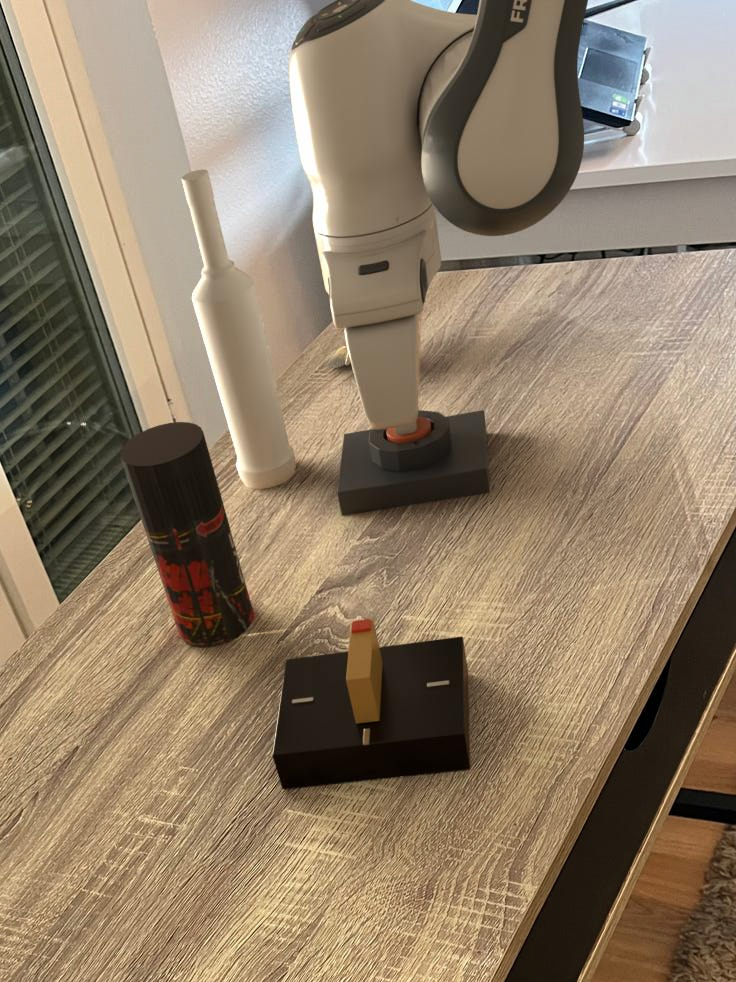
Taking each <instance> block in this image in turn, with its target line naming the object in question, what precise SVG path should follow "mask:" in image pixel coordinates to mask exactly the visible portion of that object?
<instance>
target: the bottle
mask: <svg viewBox="0 0 736 982" xmlns="http://www.w3.org/2000/svg"><path fill="white" fill-rule="evenodd" d="M181 182H182V186H183V190H184V194H185V197H186V202H187V205H188V207H189V209H190V210H189V211H190V215H191V219H192V223H193V226H194V231H195V235H196V239H197V242H198V247H199V250H200V255H201V258H202V263H203V268H201V278H200V280H199V281H198V283H197V284H196V286H195V288H194V290H193V292H192V294H191V300H192V304H193V308H194V312H195V315H196V318H197V321H198V325H199V329H200V332H201V336H202V340H203V343H204V345H205V349H206V353H207V357H208V360H209V363H210V366H211V371H212V374H213V377H214V381H215V384H216V388H217V391H218V394H219V398H220V401H221V405H222V408H223V413H224V416H225V419H226V423H227V426H228V431H229V433H230V437H231V440H232V443H233V447H234V451H235V454H236V458H237V459H236V465H235V466H236V470H237V473H238V476H239V477H240V480H241V481H242V483H243V484H244V485H245V487H247V488H249V489H252V490H266V489H270V488H275V487H277V486H280V485H283V484H284V483H286V482H288V481H289V480H290V479H292V477H293V476H294V475H295V473H296V466H297V465H296V463H297V461H296V455H295V449H294V448H293V447H292V446H291V445H290V443H289V437H288V433H287V427H286V423H285V418H284V413H283V409H282V404H281V403H282V402H281V400H280V395H279V389H278V384H277V380H276V376H275V370H274V365H273V361H272V356H271V351H270V348H269V343H268V338H267V332H266V328H265V327H266V326H265V322H264V319H263V314H262V309H261V304H260V300H259V295H258V290H257V289H258V288H257V286H256V281H255V278H254V277H253V276H252V275H250V274H249V273H247V272H245V271H243V270H241V269H239V268H238V267H236V264H235V262H234V261H233V260H231V259H230V258H229V254H228V251H227V247H226V243H225V239H224V234H223V230H222V227H221V226H222V225H221V223H220V218H219V214H218V210H217V206H216V202H215V195H214V191H213V187H212V183H211V178H210V175H209V170H207V169H197V170H194V171H189V172H187V173H186V174H184V175H182V176H181Z"/></svg>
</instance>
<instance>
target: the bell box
mask: <svg viewBox="0 0 736 982" xmlns="http://www.w3.org/2000/svg"><path fill="white" fill-rule="evenodd" d="M418 417H423V418H426V419H428V420H429V422H430V425H431V433H430V434H429V435H428V436H426V437H424V438H422V439H419V440H417V441H414V442H408V443H402V444H399V443H390V442H388V439H387V434H386V431H387V429H379V430H376V429H373V428H371V429H365V430H359V431H354V432H348V433H344V434H343V438H342V447H341V455H340V464H339V472H338V481H337V488H336V489H337V490H336V494H337V500H338V504H339V509H340V513H341V516H342V517H346V516H351V515H356V514H357V515H358V514H364V513H369V512H376V511H383V510H388V509H396V508H402V507H408V506H409V507H410V506H414V505H421V504H422V505H423V504H428V503H434V502H440V501H447V500H452V499H460V498H466V497H472V496H478V495H484V494H489V493H490V492H491V491H490V490H491V489H490V473H489V472H490V471H489V469H490V467H489V449H488V448H489V447H488V430H487V423H486V422H487V421H486V413H485V410H484V409H482V410H477V411H476V410H475V411H470V412H465V413H458V414H453V415H447V416H446V415H444V414H442V413H440V412H439V411H432V410H422V409H419V410H418Z"/></svg>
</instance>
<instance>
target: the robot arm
mask: <svg viewBox="0 0 736 982" xmlns="http://www.w3.org/2000/svg"><path fill="white" fill-rule="evenodd" d="M588 3H589V0H479V2H478V7H477V11H476V12H477V13H476V14H470V13H460V12H459V13H458V12H452V11H448V10H442V9H438V8H434V7H431V6H428V5H425V4H422V3H420V2H417V1H414V0H335V1H333V2H331V3H329V4H328V5H325V6H324V7H323V8H321V9H319V10H318V11H317V13H315V14H314V15H312V16H311V17H309V18H308V19H307V20H306V21H305V22H304V24H303V25H302V27H301V28H300V29H299V31H298V32H297V34H296V36H295V39H294V40H293V42H292V46H291V49H290V53H289V60H288V80H289V83H288V84H289V92H290V103H291V110H292V119H293V122H294V123H293V124H294V130H295V137H296V143H297V149H298V154H299V158H300V159H299V160H300V163H301V167H302V169H303V171H304V173H305V175H306V177H307V179H308V181H309V184H310V188H311V191H312V192H311V193H312V215H311V218H312V227H313V232H314V237H315V243H316V248H317V253H318V258H319V263H320V269H321V273H322V279H323V283H324V290H325V291H326V293H327V294H328V298H329V305H330V313H331V319H332V322H333V326H334V328H335V329H339V330H340V329H343V335H344V339H345V344H346V345H347V349H348V353H349V357H350V361H351V363H350V364H351V365H350V366H351V369H352V372H353V376H354V380H355V383H356V387H357V391H358V395H359V399H360V403H361V405H362V409H363V412H364V415H365V418H366V420H367V422H368V424H369V425H370V427H371V429H376V430H379V429H387V428H394V430H395V432H396V434H398V435H404V434H411V433H414V432H415V431H416V429H417V418H418V410H420V409H419V395H420V393H419V392H420V371H421V369H420V367H421V366H420V365H421V341H422V338H421V337H422V318H423V317H422V314H423V311H424V307H425V303H426V298H427V292H428V291H429V288H430V286H431V284H432V281H433V279H434V276H436V274H437V273H438V272H439V270H440V269H441V266H442V254H441V246H440V240H439V239H440V237H439V233H438V232H439V231H438V223H437V216H436V210H437V212H438V213H439V214H440V215H441V216H442V217H443V218H444V219H445V220H446V221H447V222H449V223H450V224H451V225H453V226H455V227H456V228H458V229H460V230H462V231H464V232H467V233H469V234H473V235H478V236H483V237H485V236H486V237H502V236H507V235H512V234H515V233H519V232H521V231H523V230H527V229H528V228H530V227H533V226H534V225H536V224H537V223H539V222H540V221H542V220H544V219H545V218H546V217H547V216H548V215H550V214H551V213H552V212H554V210H555V209H557V207H558V206H559V205H560V204H561V203H562V202H563V200H564V199H565V197H566V196H567V195H568V194H569V191H570V190H571V189H572V186H573V185H574V183H575V181H576V178H577V176H578V174H579V171H580V168H581V165H582V160H583V156H584V148H585V125H584V116H583V110H582V104H581V96H580V89H579V78H578V77H579V76H578V62H579V60H578V59H579V51H580V50H579V49H580V42H581V36H582V31H583V26H584V22H585V16H586V12H587V8H588Z"/></svg>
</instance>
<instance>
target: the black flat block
mask: <svg viewBox="0 0 736 982" xmlns="http://www.w3.org/2000/svg"><path fill="white" fill-rule="evenodd" d="M464 641H465V640H464V637H463V636H455V637H447V638H440V639H432V640H424V641H416V642H409V643H401V644H394V645H386V646H379V649H380V653H381V658H382V663H383V664H382V683H381V701H380V720H379V721H375V722H366V723H358V724H356V721H355V717H354V713H353V708H352V704H351V700H350V695H349V691H348V687H347V682H346V674H347V663H348V651H349V650H348V651H347V650H346V651H341V652H340V651H339V652H332V653H326V654H317V655H310V656H303V657H302V656H301V657H293V658H287V659H285V665H284V671H283V678H282V679H283V680H282V685H281V691H280V692H281V693H280V698H279V699H280V700H279V707H278V713H277V719H276V726H275V735H274V740H273V748H272V755H271V756H272V758H273V763H274V765H275V768H276V773H277V776H278V779H279V783H280V786H281V789H282V790H289V789H300V788H307V787H318V786H328V785H337V784H346V783H355V782H365V781H374V780H383V779H382V778H384V779H392V778H391V777H394V778H401V777H400V776H403V777H411V776H420V775H419V774H422V775H430V774H431V775H432V774H439V773H448V772H458V771H467V770H471V746H470V745H471V744H470V743H471V742H470V741H471V740H470V696H469V695H470V694H469V668H468V661H467V655H466V648H465V642H464Z"/></svg>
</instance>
